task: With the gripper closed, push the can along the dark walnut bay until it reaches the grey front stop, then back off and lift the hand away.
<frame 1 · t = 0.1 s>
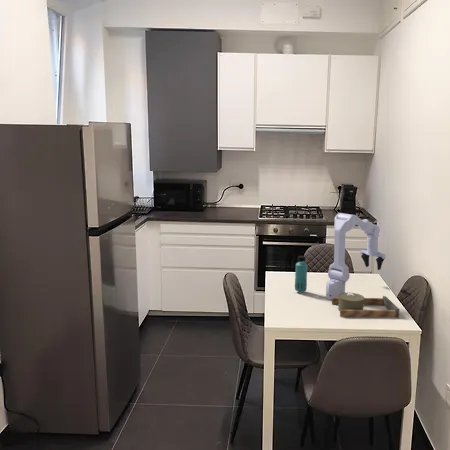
hand: (373, 267, 254), 11 cm above the table, tool pointing down, fingers open, 7 cm apart
can: (350, 310, 218), on the table
bay: (363, 310, 218), on the table
beverage bottle: (300, 292, 244), on the table
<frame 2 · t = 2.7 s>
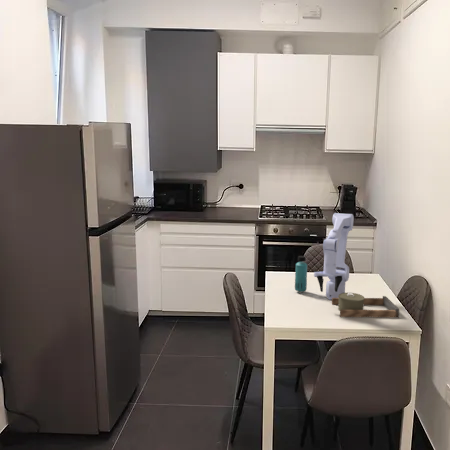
hand: (328, 291, 217), 9 cm above the table, tool pointing down, fingers open, 6 cm apart
nothing on the table moved.
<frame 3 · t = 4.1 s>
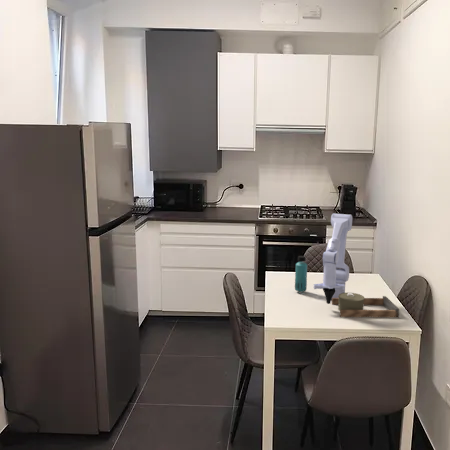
hand: (328, 303, 218), 3 cm above the table, tool pointing down, fingers closed
nothing on the table moved.
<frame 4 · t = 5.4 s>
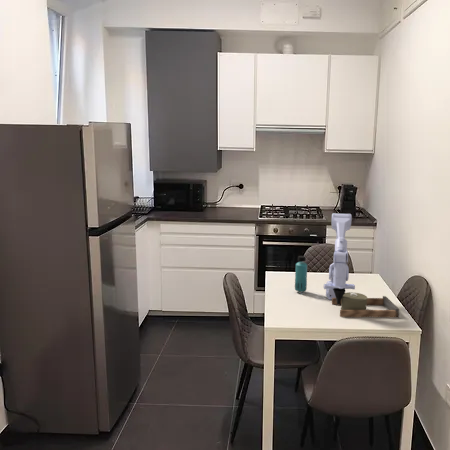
hand: (338, 303, 218), 3 cm above the table, tool pointing down, fingers closed
can: (353, 310, 218), on the table, touching gripper
everything else where it was.
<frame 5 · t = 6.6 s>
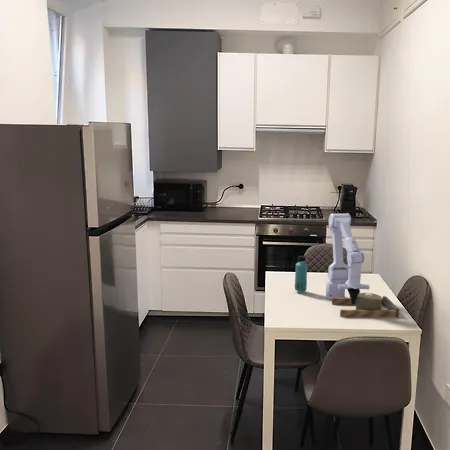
hand: (352, 303, 218), 3 cm above the table, tool pointing down, fingers closed
can: (368, 310, 218), on the table, touching gripper
everything else where it was.
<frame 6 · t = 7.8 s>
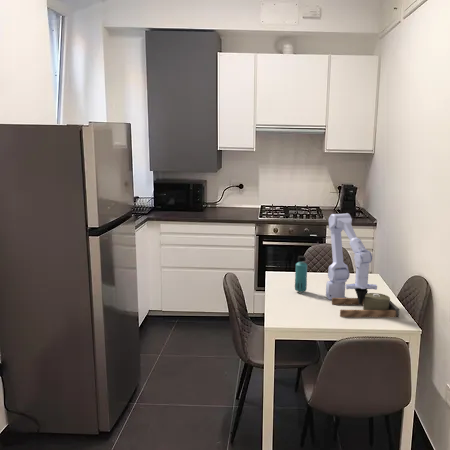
hand: (360, 303, 218), 3 cm above the table, tool pointing down, fingers closed
can: (375, 310, 218), on the table, touching gripper
everything else where it was.
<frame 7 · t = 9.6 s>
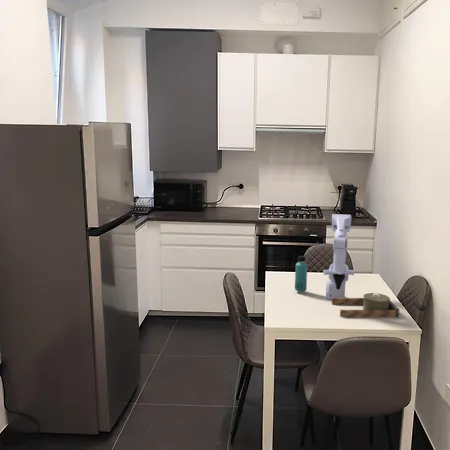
hand: (337, 288, 220), 9 cm above the table, tool pointing down, fingers closed
can: (375, 311, 218), on the table
everything else where it was.
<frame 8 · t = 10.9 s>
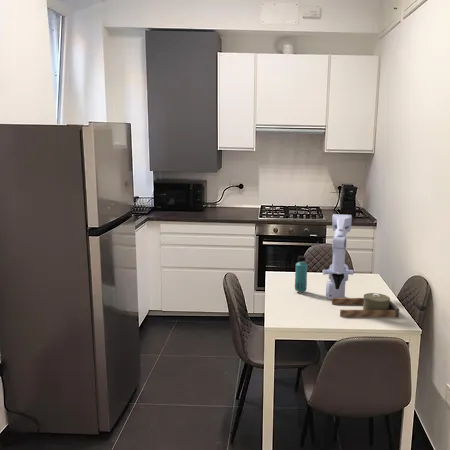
hand: (337, 288, 221), 9 cm above the table, tool pointing down, fingers closed
nothing on the table moved.
at the end: can 0.6 cm from the target spot, on the table; can tilted 0° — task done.
